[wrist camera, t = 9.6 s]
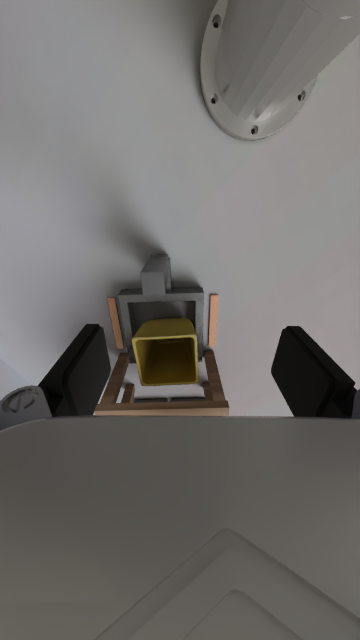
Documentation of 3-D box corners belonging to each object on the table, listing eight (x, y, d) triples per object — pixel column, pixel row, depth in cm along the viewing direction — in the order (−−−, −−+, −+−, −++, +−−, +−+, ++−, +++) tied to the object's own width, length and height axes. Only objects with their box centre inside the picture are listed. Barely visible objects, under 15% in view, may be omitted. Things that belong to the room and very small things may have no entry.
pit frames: (135, 399, 46) (134, 403, 45) (204, 397, 46) (205, 401, 45) (139, 421, 49) (138, 424, 48) (203, 419, 49) (204, 423, 48)
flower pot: (148, 352, 40) (140, 387, 32) (141, 310, 36) (130, 338, 28) (194, 349, 40) (198, 384, 32) (192, 306, 36) (197, 334, 28)
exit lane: (107, 298, 35) (107, 298, 35) (217, 294, 35) (218, 295, 35) (117, 348, 40) (117, 348, 39) (215, 345, 39) (215, 346, 39)
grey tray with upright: (116, 255, 32) (91, 274, 23) (202, 253, 32) (212, 270, 22) (132, 354, 40) (119, 397, 31) (200, 353, 40) (207, 394, 31)
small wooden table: (118, 352, 40) (94, 411, 28) (214, 349, 40) (229, 407, 28) (126, 391, 45) (108, 455, 33) (212, 388, 45) (224, 452, 33)
